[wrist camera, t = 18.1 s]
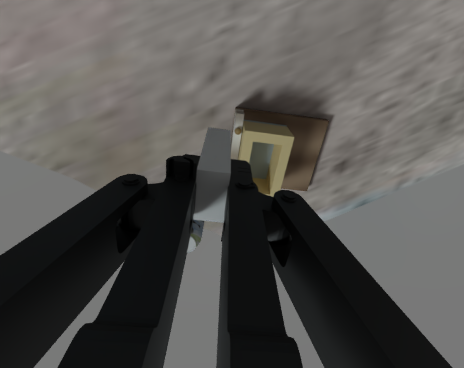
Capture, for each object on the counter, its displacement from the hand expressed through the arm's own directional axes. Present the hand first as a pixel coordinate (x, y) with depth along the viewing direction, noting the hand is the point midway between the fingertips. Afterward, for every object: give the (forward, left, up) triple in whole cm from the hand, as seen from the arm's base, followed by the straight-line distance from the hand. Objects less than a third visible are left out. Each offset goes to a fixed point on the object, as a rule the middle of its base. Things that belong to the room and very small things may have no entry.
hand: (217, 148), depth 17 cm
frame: (+9, +7, -23) cm, 26 cm away
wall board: (+8, +10, -24) cm, 28 cm away
